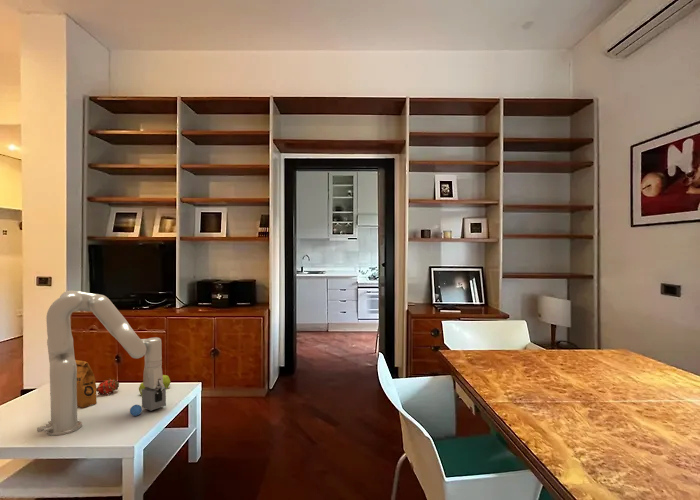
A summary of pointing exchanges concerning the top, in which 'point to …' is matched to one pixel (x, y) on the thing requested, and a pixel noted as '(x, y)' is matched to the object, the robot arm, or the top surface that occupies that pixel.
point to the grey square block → (152, 399)
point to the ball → (135, 410)
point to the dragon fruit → (107, 387)
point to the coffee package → (85, 385)
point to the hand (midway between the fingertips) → (153, 399)
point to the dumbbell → (165, 381)
